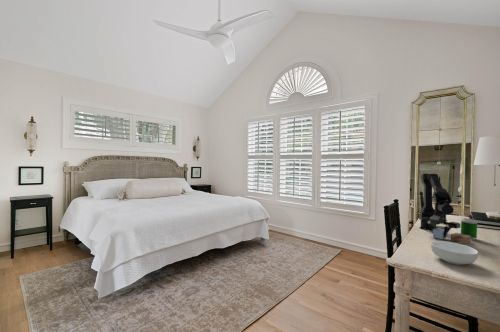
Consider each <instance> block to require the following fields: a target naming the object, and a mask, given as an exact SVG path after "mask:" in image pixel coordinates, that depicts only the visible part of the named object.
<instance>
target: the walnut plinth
mask: <svg viewBox="0 0 500 332" xmlns="http://www.w3.org/2000/svg"><path fill="white" fill-rule="evenodd" d="M450 236H451V238H449V239H450V241H449V242H453V243H458V244H462V245H467V244H470V243H471V240H470V236H469V235H464V234H461V232H453V233H450Z"/></svg>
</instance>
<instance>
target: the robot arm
mask: <svg viewBox="0 0 500 332" xmlns="http://www.w3.org/2000/svg"><path fill="white" fill-rule="evenodd" d="M420 180H421V183H422V184H423V185H422V186H423V206H422V208H421V209H420V210H421V211H420V213H419V215H418V219H419V220H420V226H419V229H422V230H427V231H432V232H433V229H436V226H440V225H444V226H443V227H444V237H446V235H449V234H448V233H449V232H450V230H451V229H456V230H457V229H461V223H460V222H457V221H456V222H455V221H449V222H448V219H447V216H448V215H451V214H453V213H454V211H455V209H454V207H453V205H451V204H453V203H452V201H453V200H452V197H451V194H450V193H449V192H448V190H447V189H446V188H445V187H443V185H442V183H441V181H440V179H439V174H437V173H431V172H430V173H427V172H425V173H424V172H423V173H422V174H420ZM433 200H434V207H433ZM446 238H447V237H446Z"/></svg>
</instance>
